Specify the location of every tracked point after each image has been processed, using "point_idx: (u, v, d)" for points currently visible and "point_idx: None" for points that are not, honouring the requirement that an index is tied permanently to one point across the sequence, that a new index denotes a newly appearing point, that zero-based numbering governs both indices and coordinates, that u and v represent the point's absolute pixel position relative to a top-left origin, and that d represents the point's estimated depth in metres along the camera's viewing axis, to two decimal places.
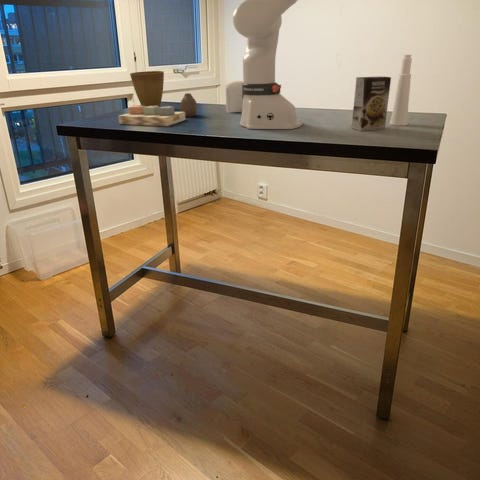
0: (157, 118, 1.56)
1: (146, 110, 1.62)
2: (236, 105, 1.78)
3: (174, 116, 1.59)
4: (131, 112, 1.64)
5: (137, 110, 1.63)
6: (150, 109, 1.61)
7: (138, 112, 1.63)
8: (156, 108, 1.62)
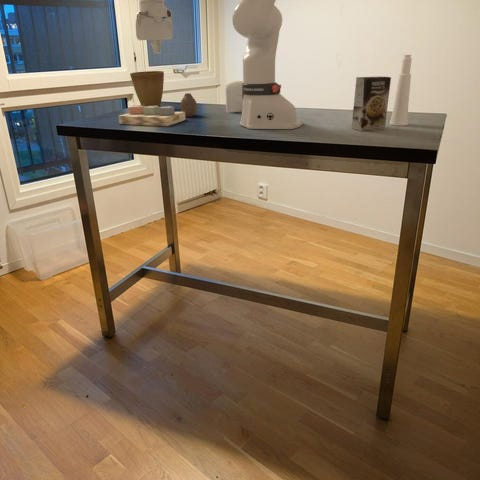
0: (157, 118, 1.56)
1: (146, 110, 1.62)
2: (236, 105, 1.78)
3: (174, 116, 1.59)
4: (131, 112, 1.64)
5: (137, 110, 1.63)
6: (150, 109, 1.61)
7: (138, 112, 1.63)
8: (156, 108, 1.62)
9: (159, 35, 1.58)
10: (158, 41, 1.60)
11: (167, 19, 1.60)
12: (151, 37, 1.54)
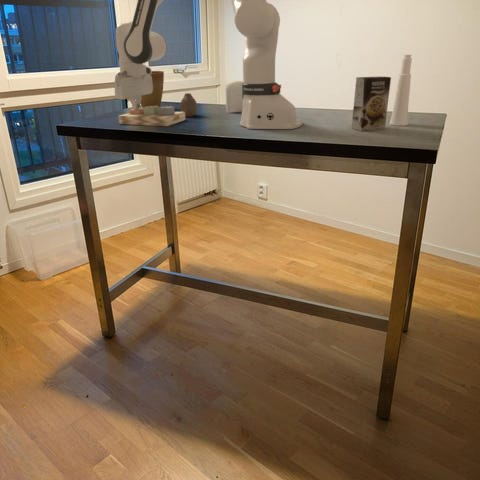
0: (157, 118, 1.56)
1: (146, 110, 1.62)
2: (236, 105, 1.78)
3: (174, 116, 1.59)
4: None
5: (137, 112, 1.64)
6: (150, 109, 1.61)
7: None
8: (156, 108, 1.62)
9: (139, 92, 1.62)
10: (137, 97, 1.64)
11: (146, 76, 1.64)
12: (130, 95, 1.58)
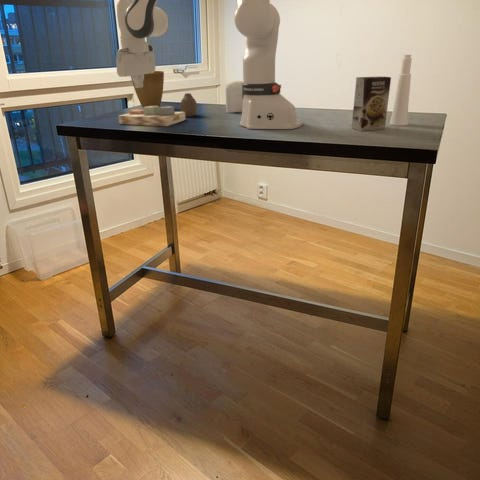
0: (157, 118, 1.56)
1: (146, 110, 1.62)
2: (236, 105, 1.78)
3: (174, 116, 1.59)
4: None
5: None
6: (150, 109, 1.61)
7: None
8: (156, 108, 1.62)
9: (141, 70, 1.58)
10: (140, 76, 1.60)
11: (149, 54, 1.60)
12: (132, 73, 1.54)
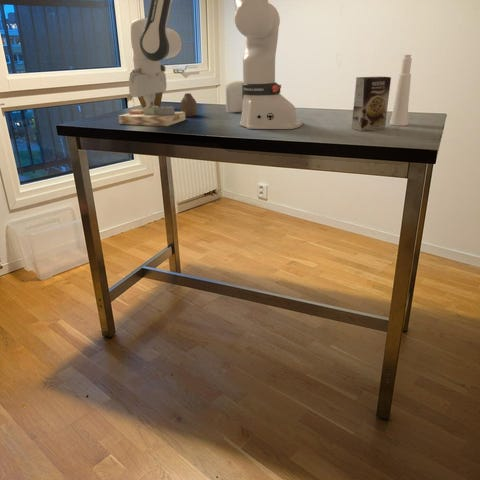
0: (157, 118, 1.56)
1: (146, 110, 1.62)
2: (236, 105, 1.78)
3: (174, 116, 1.59)
4: None
5: None
6: (150, 109, 1.61)
7: None
8: (156, 108, 1.62)
9: (153, 90, 1.60)
10: (151, 95, 1.62)
11: (160, 73, 1.61)
12: (144, 93, 1.55)
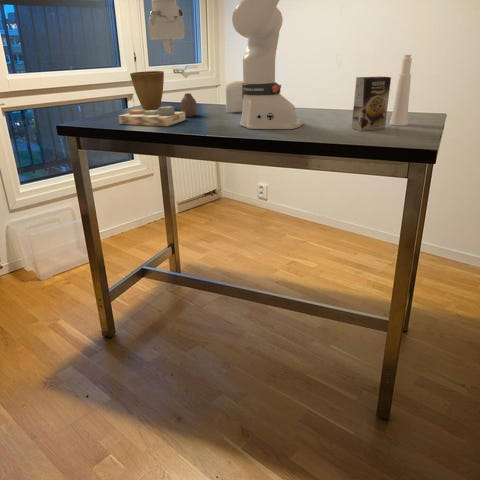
0: (157, 118, 1.56)
1: (146, 114, 1.62)
2: (236, 105, 1.78)
3: (174, 116, 1.59)
4: None
5: None
6: (150, 113, 1.61)
7: None
8: (156, 112, 1.63)
9: (172, 34, 1.57)
10: (170, 41, 1.59)
11: (179, 18, 1.59)
12: (164, 36, 1.53)
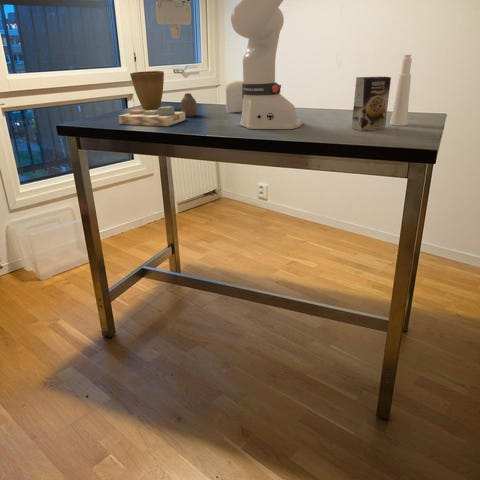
0: (157, 118, 1.56)
1: (146, 114, 1.62)
2: (236, 105, 1.78)
3: (174, 116, 1.59)
4: None
5: None
6: (150, 113, 1.61)
7: None
8: (156, 112, 1.63)
9: (179, 19, 1.57)
10: (177, 26, 1.59)
11: (186, 3, 1.59)
12: (171, 21, 1.53)
